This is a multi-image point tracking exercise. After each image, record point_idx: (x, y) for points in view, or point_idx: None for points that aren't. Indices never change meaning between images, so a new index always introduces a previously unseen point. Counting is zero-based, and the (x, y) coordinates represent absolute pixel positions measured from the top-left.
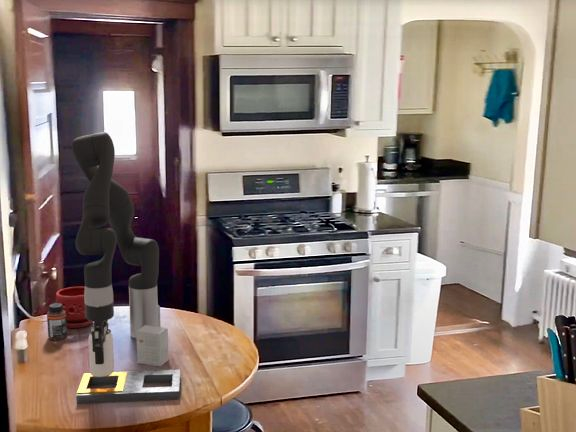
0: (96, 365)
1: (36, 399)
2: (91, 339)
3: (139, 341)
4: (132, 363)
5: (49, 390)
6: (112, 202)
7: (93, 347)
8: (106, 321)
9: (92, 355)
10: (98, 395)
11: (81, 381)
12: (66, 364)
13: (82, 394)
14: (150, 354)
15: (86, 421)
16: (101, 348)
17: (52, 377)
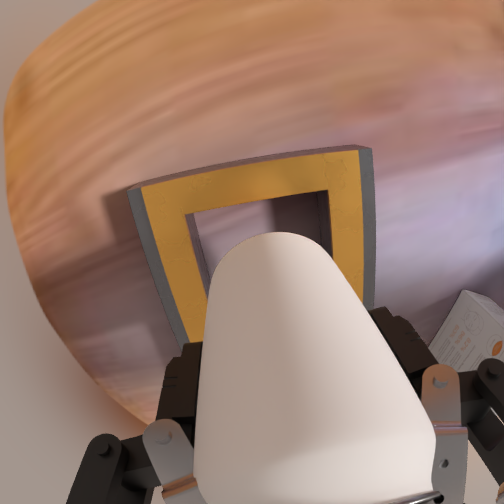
0: (204, 328)
1: (168, 7)
2: (212, 493)
3: (500, 340)
4: (464, 274)
5: (256, 21)
6: None
7: (81, 474)
8: (497, 501)
9: (205, 356)
10: (155, 277)
11: (267, 163)
12: (472, 56)
13: (140, 214)
14: (457, 349)
15: (48, 262)
16: (119, 490)
17: (377, 11)
